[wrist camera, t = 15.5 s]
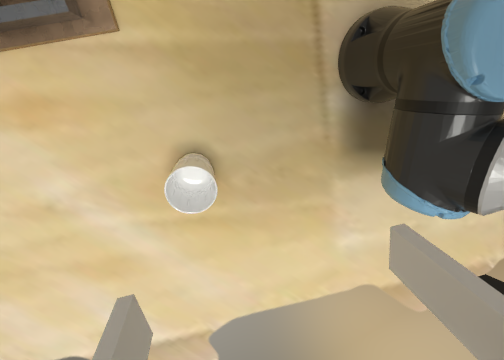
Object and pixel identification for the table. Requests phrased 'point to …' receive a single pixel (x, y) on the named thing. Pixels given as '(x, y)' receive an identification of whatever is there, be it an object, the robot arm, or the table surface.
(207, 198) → the white cup
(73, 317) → the table surface
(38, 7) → the keeper collar
